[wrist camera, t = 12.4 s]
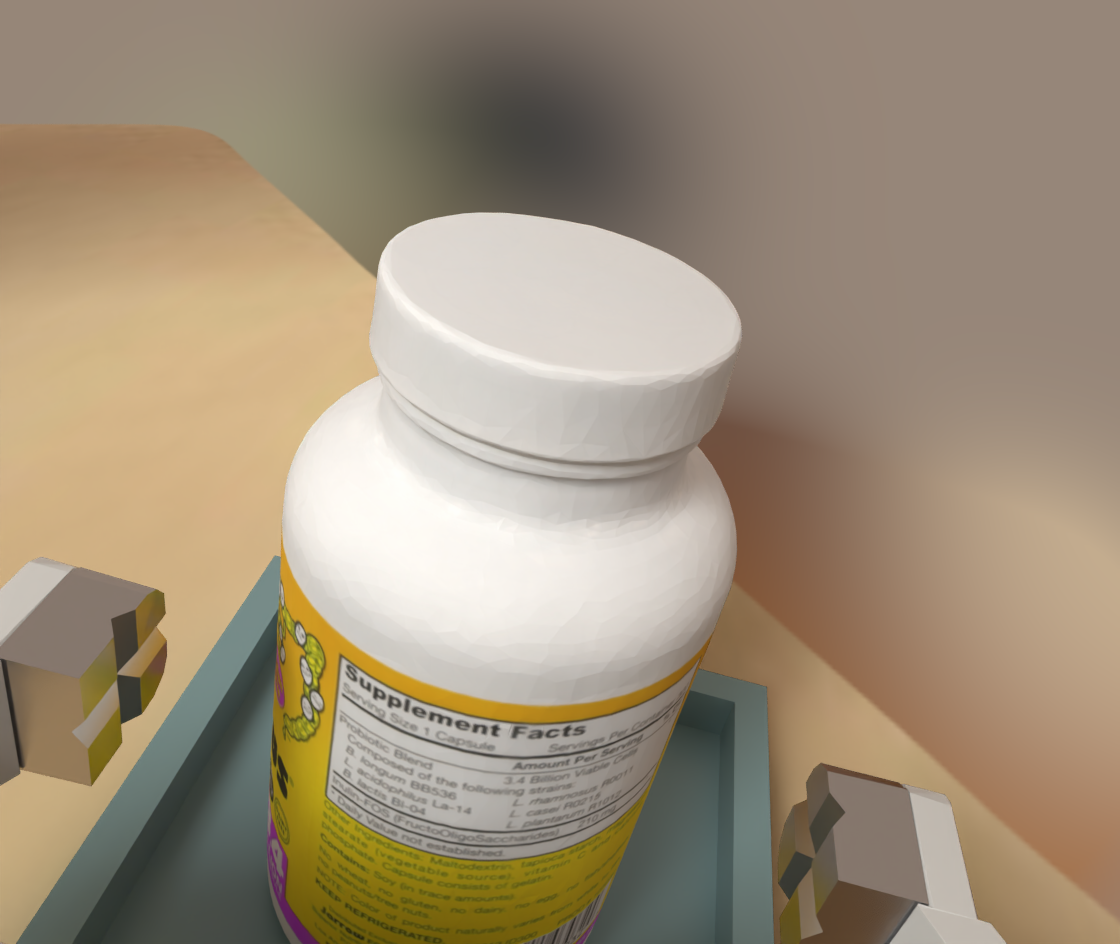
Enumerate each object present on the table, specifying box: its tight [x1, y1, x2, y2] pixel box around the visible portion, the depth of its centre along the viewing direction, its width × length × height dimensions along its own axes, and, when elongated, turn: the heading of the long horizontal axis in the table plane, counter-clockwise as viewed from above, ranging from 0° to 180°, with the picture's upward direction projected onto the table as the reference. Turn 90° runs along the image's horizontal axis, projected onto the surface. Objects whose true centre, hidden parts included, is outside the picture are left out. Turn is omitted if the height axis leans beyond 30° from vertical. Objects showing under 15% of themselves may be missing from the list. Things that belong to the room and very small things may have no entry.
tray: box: [16, 556, 774, 944], centre depth 19 cm, size 13×13×2 cm
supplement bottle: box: [267, 213, 742, 944], centre depth 16 cm, size 7×7×13 cm
